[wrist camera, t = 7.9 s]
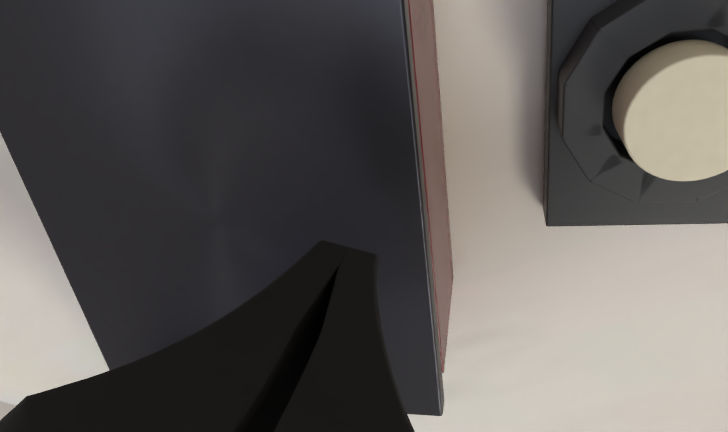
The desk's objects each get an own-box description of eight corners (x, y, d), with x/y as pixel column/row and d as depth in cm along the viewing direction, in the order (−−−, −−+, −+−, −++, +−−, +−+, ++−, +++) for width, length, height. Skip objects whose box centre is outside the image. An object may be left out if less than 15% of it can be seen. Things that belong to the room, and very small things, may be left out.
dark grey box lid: (444, 399, 19) (442, 417, 19) (132, 381, 22) (120, 396, 22) (398, -103, 12) (393, -104, 12) (-50, -30, 15) (-75, -27, 15)
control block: (744, 204, 20) (781, 249, 18) (543, 208, 22) (549, 250, 19) (813, -113, 15) (878, -114, 13) (548, -75, 17) (559, -70, 14)
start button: (735, 154, 17) (758, 179, 15) (607, 160, 18) (617, 184, 16) (759, 32, 15) (788, 47, 14) (616, 45, 16) (629, 60, 14)
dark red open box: (453, 276, 24) (443, 374, 19) (195, 275, 27) (130, 360, 22) (425, -104, 17) (399, -103, 12) (83, -49, 20) (-48, -30, 15)
